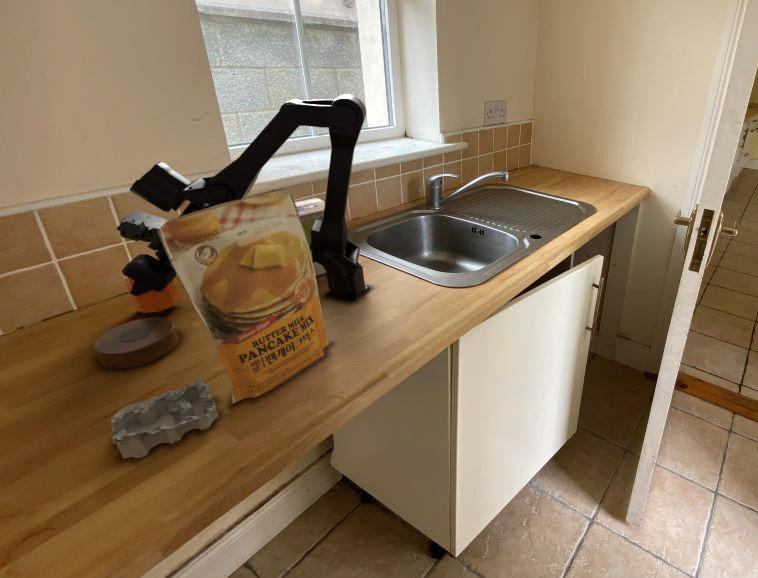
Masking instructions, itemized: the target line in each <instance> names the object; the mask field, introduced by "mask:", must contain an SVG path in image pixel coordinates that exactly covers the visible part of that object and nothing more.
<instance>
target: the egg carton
mask: <svg viewBox="0 0 758 578" xmlns="http://www.w3.org/2000/svg"><path fill="white" fill-rule="evenodd" d="M217 408H218V407H217V404H216V402H215V400H214V398H213V395H212V393H211V392H210V389H209V387H208V385H207V383H206V381H205V380H204V378H203V377H200V378H198V379H196V380H194V381H193V382H191V383H188V385H187V384H186V386H184V387H178V388H177V389H176V390H171V389H170V390H169V389H168V390H166V391H165V392H164V393H162V394H159V395H157V396H153V397H151V398H149V399H147V400H144V401H143V400H142V401H139V402H134V403H130V404H128V405H125V406H124V407H122V408H120V409H119V410H118V411H117V412H116V413H115V414H114V415H113V416H112V417H111V419H110V425H111V427H110V428H111V431H112V443H113V444H114V445H116V447H117V448H118V450H119V452H120V454H121V456H122V459H123V460H124V459H128V458H135V459H140V458H144V457H145V456H147V455H148V454H149V452H150V451H151V449H153V448H155V447H156V446H157V445H160V444H164V443H165V444H166V443H167V444H171V445H172V444H174V443H175V442H178V441H180V440H181V439H182V437H183V436H184V435H185V434H186V433H187V432H190V431H192V430H197V429H199V430H200V431H204V430H207V429H209V428H210V427H211V426H212V423H213V422H214V421H215V420H216V419H218V417H219V414H218V412H217Z"/></svg>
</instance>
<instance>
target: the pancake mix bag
mask: <svg viewBox="0 0 758 578" xmlns="http://www.w3.org/2000/svg"><path fill="white" fill-rule="evenodd" d="M295 202H296V201H295V199H294V197H293V194H292V191H287V192H285V188H284V187H283V188H277V189H276V188H275V189H272V190H269V191H266V192H261V193H258V194H254V195H251V196H248V197H245V198H244V199H240V200H235V201H231V202H226V203H223V204H219V205H216V206H213V207H209V208H206V209H203V210H199V211H196V212H193V213H190V214H186V215H183V216H180V217H178V216H177V217H178V218H176V217H175V218H172V219H168V221H166V222H165V224H164V225H163V226H162V227H161V228H160V229H159V230H158V231H157V232H158V234H159V237H160V239H161V242H162V244H163V247H164V249H165V251H166V254H167V256H168V258H169V260H170V263H171V265H172V267H173V268H174V270H175V272H176V275H177V276H178V278H179V279H180V281H181V283H182V286H183V288H184V290H185V292H186V294H187V296H188V297H187V298H188V299H189V301H190V303H191V305H192V307H193V308H194V310H195V312H196V313H197V315H198V317H199V319H200V320H201V321H202V323H203V324H204V326H205V328H206V329H207V330H208V332H209V335H210V337H211V340H212V343H213V346H214V349H215V351H216V354H217V357H218V359H219V360H220V361H221V363H222V364H223V366H224V368H225V370H226V372H227V375H228V377H229V380H230V385H231V404H236V403H237V402H239V401H242V400H244V399H257V398H259V397H260V396H263V395H265V394H267V393H269V392H270V391H272V390H273V389H275V388H276V387H279V386H280V385H281V384H283V383H285V382H286V381H288V380H289V379H291V378H293V377H294V376H296V375H297V374H298V373H300V372H301V371H303V370H305V369H306V368H308V367H309V366H311V365H313V364H315V363H316V362H317V361H319V360H320V359H321V358H323V357H325V353H324V350H325V349H326V348H327V347H328V346H329V345H330V342H329V340H328V338H327V336H326V333H325V323H324V317H323V310H322V309H323V308H322V306H321V301H320V295H319V288H318V287H319V286H318V282H317V276H316V275H315V268H314V265H313V262H312V256H311V250H310V247H309V243H308V240H307V237H306V234H305V231H304V228H303V225H302V222H301V220H300V217H299V213H298V209H297V206H296V204H295Z"/></svg>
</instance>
